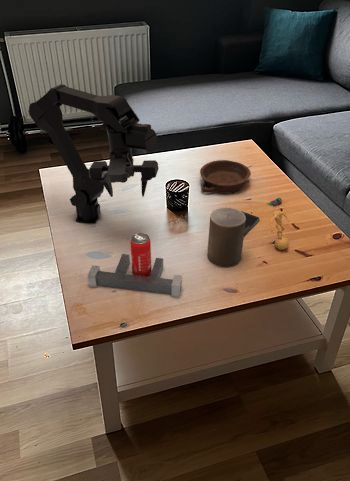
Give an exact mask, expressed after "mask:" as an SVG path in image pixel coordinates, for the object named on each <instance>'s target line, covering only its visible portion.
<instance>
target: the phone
mask: <svg viewBox="0 0 350 481" xmlns="http://www.w3.org/2000/svg"><path fill="white" fill-rule="evenodd" d="M240 211H241V212H243V213H244V215H245V217H246V222H245V230H244V237H246V236H247V234H248V233H249V232H250V231H251V230H252V229H254V227H255V226H256V225H257V224H258V223H260V217H259V216H256V215H253V214H251V213H248V212H245V211H243V210H240Z"/></svg>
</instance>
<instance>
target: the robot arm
mask: <svg viewBox="0 0 350 481" xmlns="http://www.w3.org/2000/svg"><path fill="white" fill-rule="evenodd" d="M63 105H64V106H67V107H70V108H74V109H77V110H81V111H83V112H85V113H86V112H87V113H90V114H92V115H94V116H95V117H96V119H97V120H98V121H101V122H102V125H100V126H99V129H100V130H102V131H103V130H104V131H106V133H107V137H108V139H107V140H108V144H109V164H108V162H107V161H106V160H99V161H97V160H96V161H95V160H94V161H93V162H92V163H91V165H90V167H89V168H88V167H87V165H86V164H85V162H84V161H83V158H82V156H81V155H80V153H79V151H78V149H77V147H76V146H75V144H74V142H73V141H72V138H71V137H70V135H69V133H68V131H67V129H66V128H65V127H64V122H63V121H64V120H63V116H64V115H63V112H62V110H61V107H62V106H63ZM27 112H28V115H29V117H30V118H31V119H32V121H33V122H34V123H35V125H36V126H37V127H38V128H39V129H41V130H43V131H44V132H45V133H47V134H48V136H49V137H50V138H49V139H51V142H52V143H53V145H54V147H55V148H56V150H57V152H58V153H59V155H60V157H61V160H62V161H63V163H64V164H65V166H66V168H67V169H68V171H69V172H70V174H71V177H72V189H73V191H74V192H75V193H74V195H72V197H70V198H69V201H70V203H71V205H72V206H73V207H75V211H76V218H75V222H76V223H85V224H97V222H98V220H99V219H100V217H101V214H102V211H101V205H100V203H99V200H98V199H99V198H101V195H102V194H103V193H104V191H105V190H106V191H107V194H109V196H110V198H113V197H114V190H113V185H112V183H113V184H114V183H121V184H124V183H127V181H128V179H130V178H131V177H132V178H133V177H134V176H135V173H140V176H141V178H140V182H141V197H142V198H144V197H145V194H146V189H147V186H148V185H147V184H148V181H151V180H152V179H154V178H156V177H157V175H158V173H159V168H160V167H159V163H158V162H157V160H149V159H148V160H143V161H142V164H134V163H135V160H134V157H133V150H138V151H144V152H153V151H154V149H155V148H156V147H157V143H158V142H157V141H158V136H157V133H156V131H155V130H154V129H153V128H152V125H151V123H144V124H143V123H139V122H140V118H139V117H138V115H137V114H136V112H134V110H133V108H132V107H131V106H130V104H129V102H128V101H127V98H125V97H124V96H121V95H113V94H111V95H102V96H101V95H96V94H94V93H89V92H86V91H82V90H79V89H75V88H72V87H69V86H67V85H65V84H58V85H55V86H54V87H52V88H50V89H49V90H48V91H46V93H45V94H44V95H43V96H41V97H40V98H39V99H38V100H35V101H33V102H31V103H30V104H29V106H28V111H27ZM125 118H126V120H124V119H125ZM122 120H123V121H122ZM121 121H122V122H121ZM132 149H133V150H132Z"/></svg>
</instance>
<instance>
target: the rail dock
mask: <svg viewBox="0 0 350 481" xmlns="http://www.w3.org/2000/svg"><path fill="white" fill-rule="evenodd" d="M130 258H131V256H130V254H125V253H122V254H121V255H120V259H119V261H118V264H117V266H116V269H115V271H114V272H111V271H104V270H101V266H99V265H94V264H93V265H91V267H90V269H89V272H88V274H87V279H88V280H87V281H88V287H90V288H97V287H98V286H99V287H107V288H115V289H121V290H131V291H139V292H147V293H153V294H154V293H156V294H164V295H171V297H172V298H180V297H181V291H182V283H183V275H179V274H174V275H173V279H171V278H165V277H164V278H162V277H161V276H162V273H163V269H164V258H163V257H155V260H154V263H153V266H152V268H151V273H150V275H149V276H148V277H147V276H139V275H134V274H129V273H128V274H127V272H128V269H129V267H130V264H131V260H130Z"/></svg>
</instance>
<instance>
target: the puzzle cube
mask: <svg viewBox="0 0 350 481" xmlns="http://www.w3.org/2000/svg"><path fill="white" fill-rule="evenodd" d="M282 203H283V199H282V198H281V197H277V198H275V199H274V200H270V202H268V203H267V205H269V206H270V207H275V208H276V207H277V206H280V205H282Z"/></svg>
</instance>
